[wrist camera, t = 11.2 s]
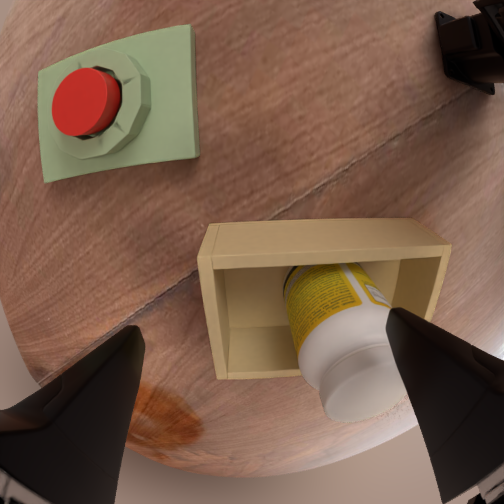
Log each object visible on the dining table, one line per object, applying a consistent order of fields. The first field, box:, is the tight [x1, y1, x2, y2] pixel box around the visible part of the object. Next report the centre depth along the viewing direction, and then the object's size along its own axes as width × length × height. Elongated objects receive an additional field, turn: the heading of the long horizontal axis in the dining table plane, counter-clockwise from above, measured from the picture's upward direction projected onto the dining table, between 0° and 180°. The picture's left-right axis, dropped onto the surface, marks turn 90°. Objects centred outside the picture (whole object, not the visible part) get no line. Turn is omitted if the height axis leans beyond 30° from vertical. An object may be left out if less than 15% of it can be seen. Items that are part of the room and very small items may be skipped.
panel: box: [38, 24, 200, 183], centre depth 14 cm, size 12×9×4 cm
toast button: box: [52, 68, 120, 136], centre depth 12 cm, size 4×4×2 cm
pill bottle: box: [283, 262, 407, 423], centre depth 16 cm, size 6×6×11 cm
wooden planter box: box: [197, 218, 452, 380], centre depth 19 cm, size 16×10×6 cm, turn 92°
